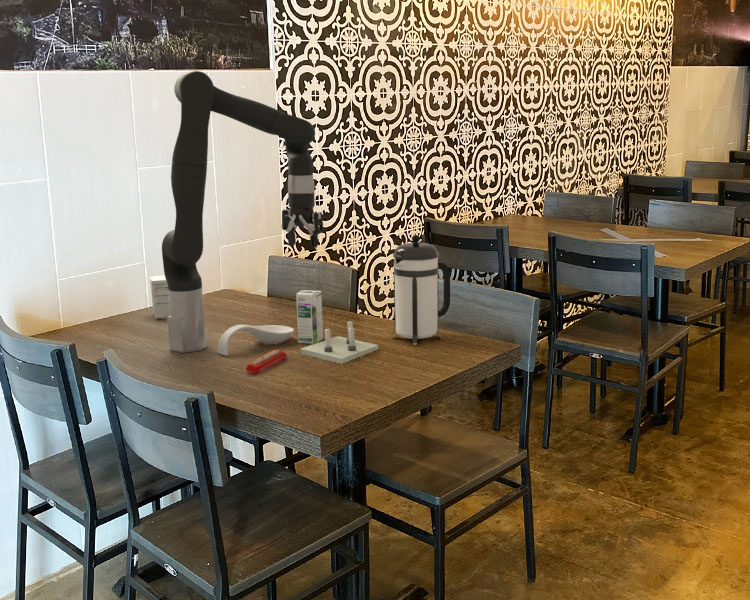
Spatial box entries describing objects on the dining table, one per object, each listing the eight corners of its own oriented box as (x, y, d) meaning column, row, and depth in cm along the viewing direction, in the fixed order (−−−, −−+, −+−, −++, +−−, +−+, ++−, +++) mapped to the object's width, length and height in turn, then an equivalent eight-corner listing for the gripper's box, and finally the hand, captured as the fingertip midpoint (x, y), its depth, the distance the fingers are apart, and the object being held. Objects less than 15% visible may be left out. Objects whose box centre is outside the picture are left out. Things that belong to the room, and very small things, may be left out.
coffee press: (443, 347, 227) (443, 239, 220) (386, 345, 230) (384, 239, 223) (450, 330, 244) (450, 229, 237) (397, 328, 247) (395, 229, 240)
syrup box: (297, 343, 234) (295, 293, 231) (305, 337, 239) (303, 288, 236) (316, 344, 232) (314, 294, 229) (323, 338, 238) (321, 289, 234)
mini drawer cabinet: (153, 314, 270) (149, 276, 267) (176, 311, 272) (173, 274, 269) (154, 319, 263) (150, 280, 260) (177, 317, 265) (174, 278, 262)
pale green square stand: (341, 364, 215) (340, 336, 213) (300, 354, 224) (299, 327, 222) (378, 350, 226) (378, 323, 224) (338, 341, 235) (337, 315, 233)
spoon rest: (277, 334, 245) (276, 310, 243) (302, 341, 237) (301, 317, 235) (209, 352, 229) (208, 327, 227) (234, 360, 220) (233, 334, 219)
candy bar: (255, 377, 207) (255, 365, 206) (243, 375, 208) (242, 364, 208) (289, 359, 221) (288, 348, 220) (277, 357, 222) (277, 346, 222)
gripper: (274, 190, 238) (276, 246, 242) (310, 193, 230) (312, 250, 233) (292, 188, 244) (294, 242, 248) (328, 191, 235) (329, 247, 239)
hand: (303, 246), depth 241 cm, fingers open, 8 cm apart
